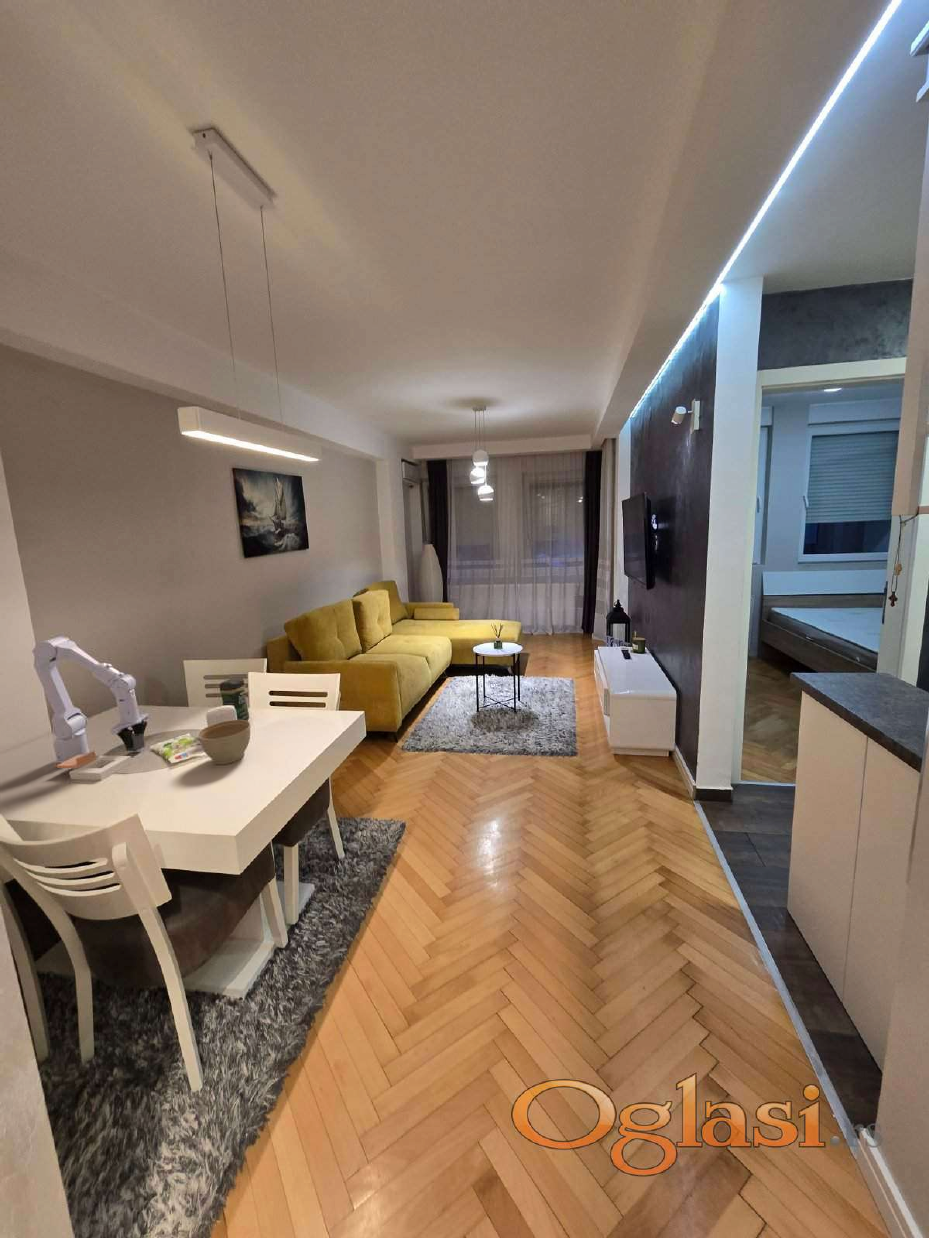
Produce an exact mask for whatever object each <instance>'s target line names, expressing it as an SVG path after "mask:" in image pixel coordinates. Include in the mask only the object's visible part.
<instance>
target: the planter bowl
mask: <svg viewBox="0 0 929 1238" xmlns="http://www.w3.org/2000/svg"><path fill="white" fill-rule="evenodd" d="M197 738H198V740H199V744H200V747H201V749H202V750H203V752H204V753H205V754H206V755H207V756H208V757H209V759H210V758H211V760H213V763H214V764H216V765H229V764H232V763H234V762H237V761H239V760H241V759H242V758H243V757H244V756H245V752H246V750H247V748H248V746H249V744H250V743H249V742H250V739H251V723H250V721H249V720H247V721H245V720H229V721H224V722H220V723H216V724H213V725H211V726H208V725H207V726H206V727H204V728H202V729H201V730H200V731H199V732H198V733H197Z"/></svg>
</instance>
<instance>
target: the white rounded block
mask: <svg viewBox="0 0 929 1238" xmlns="http://www.w3.org/2000/svg"><path fill="white" fill-rule="evenodd" d="M205 716H206V723H207V727H208V726H211V725H213V724H216V723H220V722H224V721H229V720H237V715H236V710H235V708H234V706H231V705H226V706H223V705H220V706H217V707H213V708H210V709H209V710H207V712H206V715H205Z"/></svg>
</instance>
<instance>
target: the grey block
mask: <svg viewBox="0 0 929 1238" xmlns="http://www.w3.org/2000/svg"><path fill="white" fill-rule="evenodd" d="M144 740H145V739H144V737H143V734H140V733H134V732H133V733H132V742H133V747H132V748H126V746H125V745H124V746H125V751H126V752H137V751H139V750H141V749H143V748H144V747H145V741H144Z"/></svg>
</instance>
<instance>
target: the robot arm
mask: <svg viewBox="0 0 929 1238" xmlns="http://www.w3.org/2000/svg"><path fill="white" fill-rule="evenodd" d="M31 652H32V654H33V658H34V659H33V668H34V670H35V672H36V674H37V676H38V679H39V682H40V683H41V686H42V687H43V690H44V693H45V694H46V697H47V699H48V701H49V704H50V706H51V708H52V710H53V712H54V714H53V716H52V719H51V723H52V734H53V735H54V736H55V737H56V738H55V739H54V742H53V748H54V753H55V757H56V760H55V761H54V764H61V763H63V762H65V761H67V760H69V759H71V758H73V757H75V756H77V755H85V754H87V753H89V752H90V749H89V744H88V738H87V734H86V728H87V726H88V723H89V721H88V717H87V716H86V715H85V714H83V713H82V710H81V709H80V708H78V707H76V706H74V705H73V702H72V700H71V697H70V696H69V693H68V690H67V688H66V686H65V684H64V682H63V679H62V677H61V675H60V673H59V671H58V667H57V664H58V663H59V662H60V660H71V661H73V662H75V663H77V664H78V665H80V666H82V667H84V668H86V669H87V670H89V671H91V674H92V677H94V678H96V679H97V680H99V681H100V682H101V683H103V684H105V685H106V686H108V687H109V689H110V692H111V693H112V694H113V695H114V696H115V700H116V706H117V709H118V711H117V712H118V714H119V715H118V716H119V720H120V722H119V723H117V724H116V725H115V726H113V727H111V728H110V733H111V735H116V736H118V738H120V740H121V741H122V743H123V744H124V746H126V747H125V749H126V748H132V747H133V742H132V734H133V733H140V734H143V738H144V735H145V730H146V728H147V726H148V721H146V720H149V719H150V715H149V713H142V714H140V713H139V708H138V702H137V698H136V691H135V688H136V686H137V679H136V678H135V676H133V675H131V674H129V673H128V674H127V673H126V674H125V673H124V672H121V671H119V670H117V669H116V668H114V667H113V664H111V663H107V662H102V663H101V662H99V661H98V660H96V659H95V658H93V657H92V656H91V655H89V654H87V653H86V652H85V651H84V650H82V649H81V648H80V647H78V645H77V644H76V642H75V641H73V640H70V639H69V638H68V637H66V636H61V635H60V636H57V637H55V638H50V639H48V640H44V641H40V642H38V643H37V644H36V645H35V647H34V648H32V651H31ZM130 727H131V729H129V728H130ZM95 755H97V752H95Z"/></svg>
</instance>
